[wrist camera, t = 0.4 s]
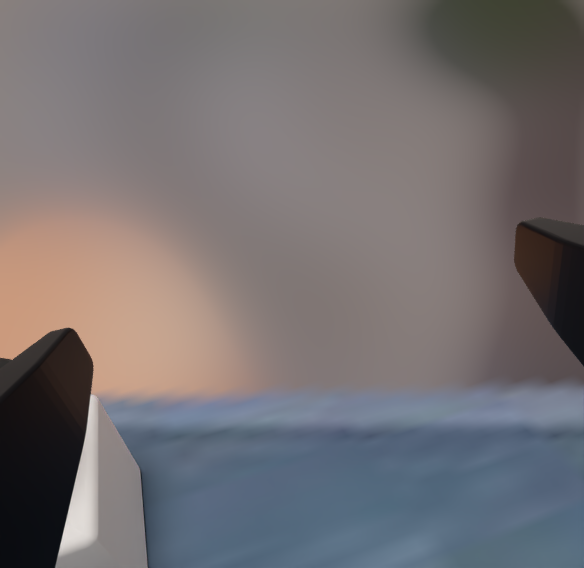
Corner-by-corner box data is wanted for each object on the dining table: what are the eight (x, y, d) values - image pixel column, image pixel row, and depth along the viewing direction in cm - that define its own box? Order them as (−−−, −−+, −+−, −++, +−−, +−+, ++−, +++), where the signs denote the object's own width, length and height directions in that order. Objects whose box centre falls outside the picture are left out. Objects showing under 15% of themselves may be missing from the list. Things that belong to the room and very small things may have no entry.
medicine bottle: (141, 467, 26) (51, 313, 19) (152, 606, 21) (32, 469, 13) (8, 513, 25) (-147, 367, 17) (-16, 674, 20) (-256, 564, 12)
